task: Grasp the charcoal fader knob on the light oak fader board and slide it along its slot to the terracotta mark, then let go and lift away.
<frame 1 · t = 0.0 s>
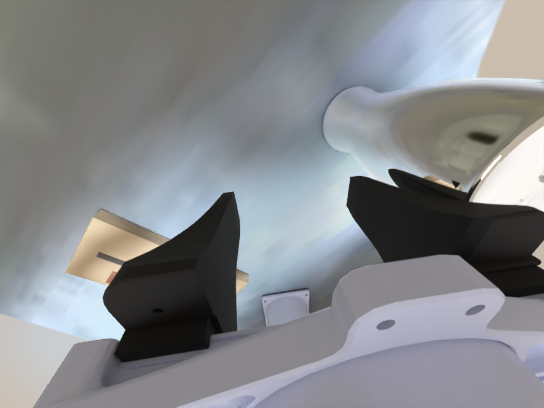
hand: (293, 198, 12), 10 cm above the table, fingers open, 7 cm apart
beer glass: (350, 120, 20), on the table, touching gripper
fader board: (168, 269, 28), on the table
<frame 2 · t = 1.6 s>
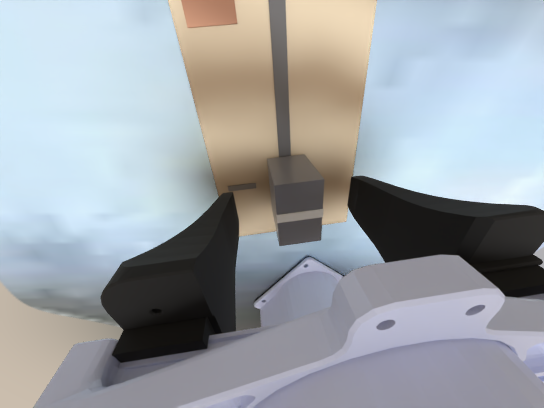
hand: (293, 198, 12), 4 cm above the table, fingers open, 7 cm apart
fader knob: (292, 197, 13), point 4 cm above the table, slide at 0.0 cm
fader board: (278, 94, 13), on the table
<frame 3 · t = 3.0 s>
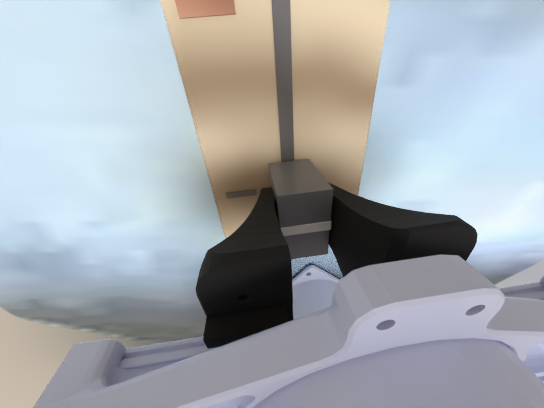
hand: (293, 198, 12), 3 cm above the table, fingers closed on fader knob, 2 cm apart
fader knob: (296, 206, 11), point 4 cm above the table, slide at 0.0 cm, touching gripper
fader board: (280, 93, 12), on the table
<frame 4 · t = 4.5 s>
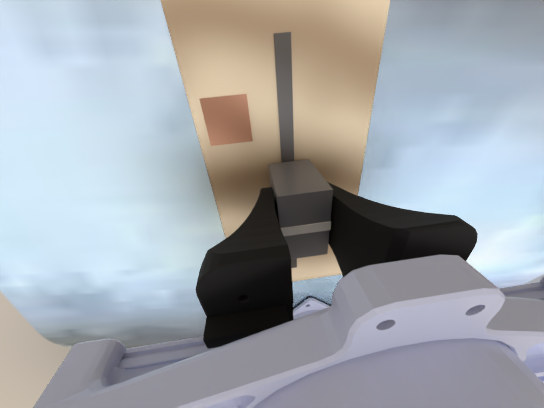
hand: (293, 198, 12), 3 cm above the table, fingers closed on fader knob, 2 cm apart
fader knob: (296, 207, 11), point 4 cm above the table, slide at 5.4 cm, touching gripper
fader board: (285, 177, 15), on the table
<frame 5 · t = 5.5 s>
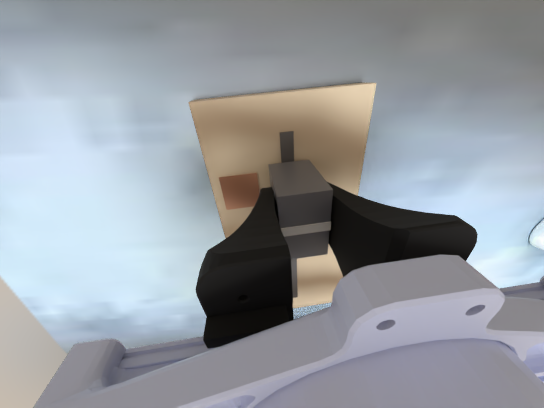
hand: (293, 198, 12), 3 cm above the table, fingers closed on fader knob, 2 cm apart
fader knob: (296, 207, 12), point 4 cm above the table, slide at 9.8 cm, touching gripper
fader board: (287, 224, 17), on the table
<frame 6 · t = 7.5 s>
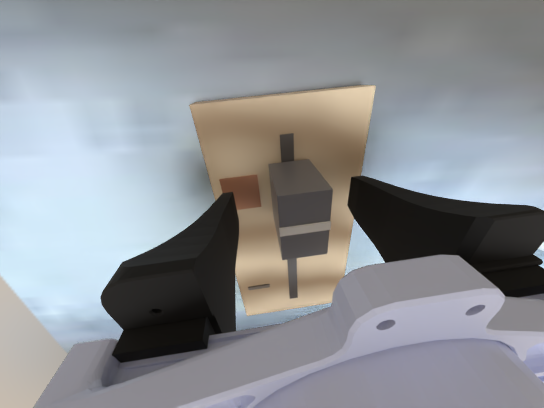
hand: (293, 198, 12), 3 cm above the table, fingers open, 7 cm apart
fader knob: (296, 206, 12), point 4 cm above the table, slide at 10.0 cm
fader board: (287, 225, 17), on the table
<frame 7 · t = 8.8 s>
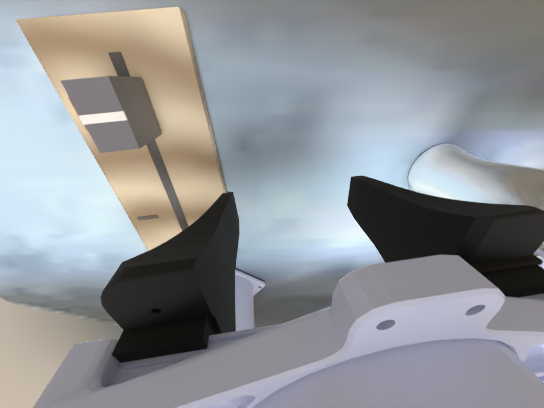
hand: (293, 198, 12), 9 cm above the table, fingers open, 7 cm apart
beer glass: (431, 168, 24), on the table
fader knob: (121, 113, 14), point 4 cm above the table, slide at 10.0 cm
fader board: (164, 157, 19), on the table
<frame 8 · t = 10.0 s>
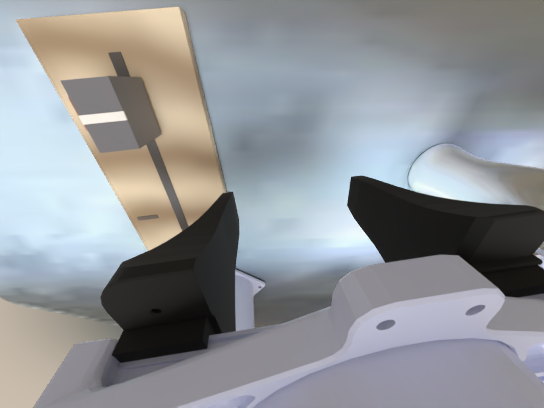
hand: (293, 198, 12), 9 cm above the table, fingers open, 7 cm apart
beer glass: (431, 168, 24), on the table
fader knob: (121, 113, 14), point 4 cm above the table, slide at 10.0 cm
fader board: (164, 157, 19), on the table
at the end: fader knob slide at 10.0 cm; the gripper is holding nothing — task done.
